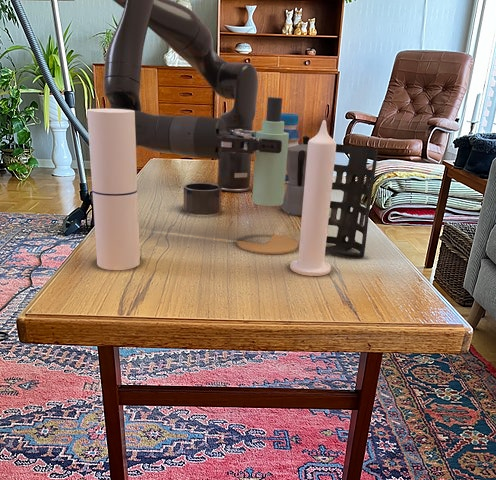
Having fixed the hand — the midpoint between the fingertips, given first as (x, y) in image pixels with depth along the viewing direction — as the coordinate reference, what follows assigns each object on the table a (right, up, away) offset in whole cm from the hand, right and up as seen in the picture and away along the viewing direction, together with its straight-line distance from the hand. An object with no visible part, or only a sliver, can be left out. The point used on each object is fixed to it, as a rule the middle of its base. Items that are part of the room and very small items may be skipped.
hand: (284, 144), depth 97 cm
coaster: (-3, -18, +8) cm, 19 cm away
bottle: (-3, -10, +5) cm, 11 cm away
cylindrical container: (-29, -22, -6) cm, 37 cm away
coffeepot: (+6, -8, +32) cm, 34 cm away
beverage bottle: (+4, +7, +68) cm, 69 cm away
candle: (+4, -23, -4) cm, 24 cm away
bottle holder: (-18, -8, +29) cm, 35 cm away
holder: (+11, -19, +7) cm, 23 cm away
